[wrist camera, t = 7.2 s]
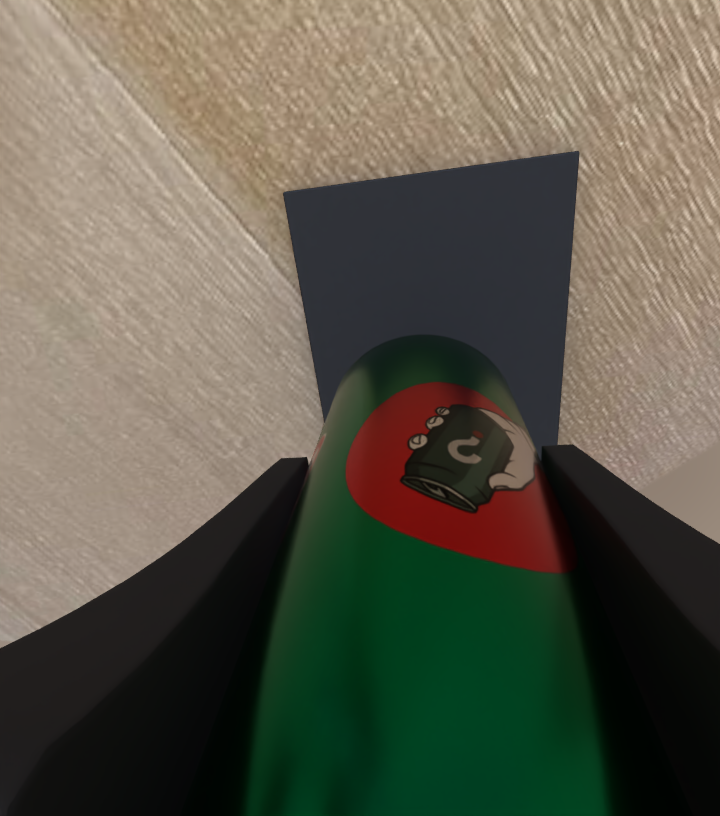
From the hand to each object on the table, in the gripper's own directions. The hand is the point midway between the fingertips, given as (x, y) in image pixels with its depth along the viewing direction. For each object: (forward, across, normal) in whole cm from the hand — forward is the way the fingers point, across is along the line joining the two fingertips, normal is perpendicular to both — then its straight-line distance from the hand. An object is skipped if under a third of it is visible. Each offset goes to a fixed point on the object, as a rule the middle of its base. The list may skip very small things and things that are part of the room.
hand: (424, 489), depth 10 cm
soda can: (+4, 0, 0) cm, 4 cm away
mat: (+10, 0, 0) cm, 10 cm away
